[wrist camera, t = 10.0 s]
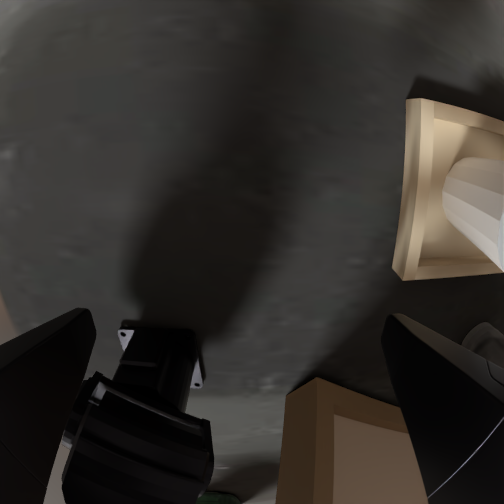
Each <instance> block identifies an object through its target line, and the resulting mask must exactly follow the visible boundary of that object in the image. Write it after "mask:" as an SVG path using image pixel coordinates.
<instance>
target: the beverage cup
mask: <svg viewBox="0 0 504 504" xmlns="http://www.w3.org/2000/svg"><path fill="white" fill-rule="evenodd" d="M461 346H462V347H464V348H466V349H468V350H470V351H471V352H473V353H475V354H477V355H479V356H481V357H482V358H484V359H486V361H487V360H488V361H490V362H492V363H493V364H495V365H497V366H499V367H501V368H503V369H504V335H503V334H502V333H501V332H500V331H498V330H497V329H495V328H494V327H493V326H492V325H491V324H490V323H488V322H483V323H480V324H478V325H477V326H475V327H474V328H473V329H472V330H471V331H470V332H469V333H468V334H467V335H466V336H465V338H464V340H463V342H462V344H461Z"/></svg>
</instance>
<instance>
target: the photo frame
mask: <svg viewBox="0 0 504 504" xmlns="http://www.w3.org/2000/svg"><path fill="white" fill-rule="evenodd" d="M427 499H428V498H427V496H426V492H425V488H424V484H423V480H422V477H421V473H420V469H419V466H418V463H417V459H416V456H415V452H414V449H413V446H412V443H411V439H410V436H409V433H408V430H407V427H406V424H405V421H404V418H403V415H402V412H401V409H400V408H399V407H396V406H393V405H390V404H387V403H384V402H381V401H379V400H376V399H373V398H370V397H367V396H365V395H362V394H359V393H357V392H354V391H351V390H349V389H346V388H343V387H341V386H338V385H336V384H333V383H331V382H328V381H326V380H323V379H321V378H318V377H316V378H314V379H313V380H311V381H310V382H308V383H306V384H305V385H303V386H302V387H300V388H298V389H297V390H295V391H293V392H292V393H290V394H288V395H286V402H285V414H284V426H283V437H282V448H281V458H280V468H279V477H278V486H277V494H276V503H275V504H428V500H427Z"/></svg>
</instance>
